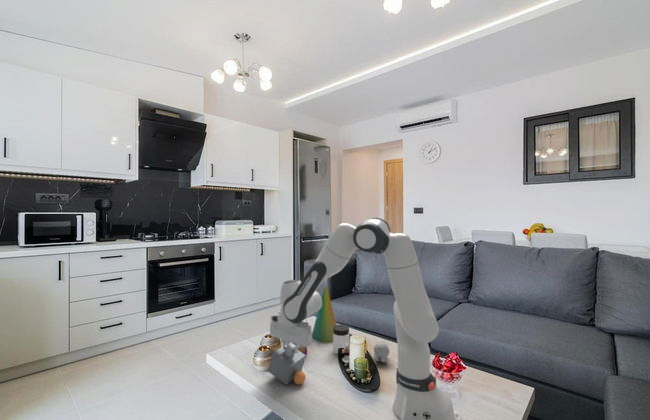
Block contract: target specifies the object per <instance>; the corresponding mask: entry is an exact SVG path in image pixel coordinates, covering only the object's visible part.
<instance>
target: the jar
mask: <svg viewBox="0 0 650 420" xmlns="http://www.w3.org/2000/svg"><path fill="white" fill-rule="evenodd" d="M347 346H349V347H350V327H349V326H348V325H347V324H337V325H335V326H334V327H333V342H332V352H333V354H335V355H338V354H337V353H338V349H339V348H345V347H347Z"/></svg>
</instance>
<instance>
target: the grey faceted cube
mask: <svg viewBox="0 0 650 420" xmlns="http://www.w3.org/2000/svg"><path fill="white" fill-rule="evenodd" d="M295 347H296V346H295V345H294V344H293V343H289V344H288V343H287V345H286V349H285V350H283V345H282V346H281V347H279V348H278V349H276V350H274V351H273V352H272V353H271V356H270V361H269V365H268V368H267V372H268V373H270V374H271V375H272V376H274V377H275V378H276V379H277V380H279V381H281V382H282V383H283V384H284V385H286V386H287V385H288V384H289V383H291V382H292V381H294V380H293V376H294V374H295V372H297V371H302V372H303V366H304V363H305V360H306V356H307V354H306V355H305V354H303V353H302V352H300V351H299V350H298V353H296V354H295V353H293V348H295Z"/></svg>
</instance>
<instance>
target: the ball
mask: <svg viewBox="0 0 650 420" xmlns="http://www.w3.org/2000/svg"><path fill="white" fill-rule="evenodd" d="M305 380H306V374H305V372H304V371H303V370H302V371H297V372H295V374H294V376H293V380H292V381H294V384H296V385H302V384H304V382H305Z"/></svg>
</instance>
